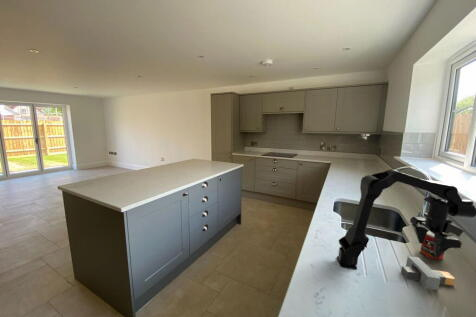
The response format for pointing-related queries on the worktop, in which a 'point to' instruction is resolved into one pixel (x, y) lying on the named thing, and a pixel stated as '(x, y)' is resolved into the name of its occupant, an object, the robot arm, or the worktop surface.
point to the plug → (445, 276)
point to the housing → (424, 273)
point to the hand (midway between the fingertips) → (428, 249)
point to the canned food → (429, 246)
